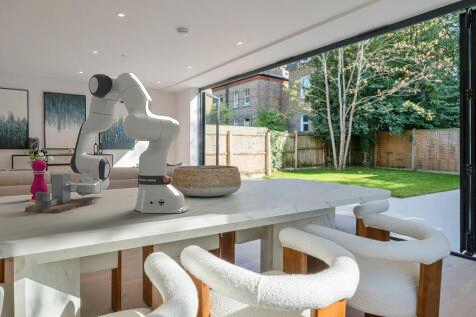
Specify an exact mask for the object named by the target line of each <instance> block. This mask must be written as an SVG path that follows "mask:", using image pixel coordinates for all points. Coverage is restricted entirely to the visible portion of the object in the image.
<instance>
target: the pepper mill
mask: <svg viewBox="0 0 476 317" xmlns="http://www.w3.org/2000/svg"><path fill="white" fill-rule="evenodd" d="M47 166H48V165H47V163H46V161H44V160H42V157H40V156H37V158H36V160H35V161H33V162H32V163H31V168H32V174H33V180H32V181H33V182H32V183H31V186H30V189H29V190H30V191H29V192H30V194H32V195H31V198H30V200H36V192H49V187H48V185H47V182H46V179H45V174H46V169H47Z"/></svg>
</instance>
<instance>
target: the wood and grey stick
mask: <svg viewBox="0 0 476 317" xmlns="http://www.w3.org/2000/svg"><path fill="white" fill-rule="evenodd" d="M28 203H36V200H31V199H29V200H28ZM50 206H52V199H50Z"/></svg>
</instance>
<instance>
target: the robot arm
mask: <svg viewBox="0 0 476 317" xmlns="http://www.w3.org/2000/svg"><path fill="white" fill-rule="evenodd" d="M88 88H89V89H88V90H89V92H90V94H91V95H92V96H91V99H90V105H89V110H88V116H87V119H86V120H85V121H84V122H82V123H81V125H80V126H79V131H78V133H77V134H78V135H77V138H76V142H75V146H74V150H73V153H72V155H71V157H70V162H69V167H70V168H71V171H72V172H74V173H75V174H80V175H83V176H80V177H77V178H76V179H75V181H72V182H71V193H76V194H78V195H79V196H82V197H83V196H87V195H88V196H89V195H93V194H94V195H95V194H98V195H99V194H102V192H103V191H104V190H106V189H107V188H108V186H109V185H110V178H109V176H110V172H111V165H110V162H109V160H108V159H107V158H106V157H104V156H98V155H92V154H88V153H87V149H88V146H89V142H90V139H91V137H92V136H93V135H95V134H98V133H103V132H106V131H108V130H109V129H111V128H112V126H113V124H114V120H115V105H116V104H117V103H119V102H120V104H123V105H124V107H125V108H126V110H127V112H128V113H127V114H128V115H127V116H126V117H125V119H124V121H123V125H122V127H123V128H122V129H123V132H124V134H125V136H126V137H127V138H129V139H131V140H133V141H138V142H148V145H147V148H146V149H145V151H142V153H140V155H139V157H138V175H137V197H136V202H135V206H134V210H135V211H137V212H140V213H142V214H146V213H147V214H180V213H185V212H187V211H189V210H191V207H190V204H186V202H185V196H184V193H182V192H181V191H180V190H179V189H178V188H177V187H175V186H173V184H172V183H171V182H172V178H173V177H172V176H170V175H168V174H167V167H168V166H167V162H168V155H169V151H170V149H171V146H172V144H173V142H174V141H175V140H177V138H178V137H179V135H180V133H181V127H180V122H178V120H177V119H174V118H173V117H170V116H167V115H158V114H154V113H152V112H151V110H152V109H153V105H154V104H153V103H154V102H153V99H152V98H151V96H150V95H149V92H148V91H147V90H146V88H145V86H144V84H143V82H141V81H140V79H139V78H138V77H137V76H136V75H135V74H134V73H132V72H126V71H125V72H123V73H120V74H118V76H117V75H110V74H104V73H96V74H93V75H92V76H91V77H90V79H89V81H88Z"/></svg>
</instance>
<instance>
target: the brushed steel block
mask: <svg viewBox="0 0 476 317" xmlns="http://www.w3.org/2000/svg"><path fill="white" fill-rule="evenodd" d="M71 193H72V192H71V173H64V172H63V173H52V174H51V200H52V206H53V205H57V204H64V203H68V202H71V199H72V198H71V197H72V196H71V195H72V194H71Z"/></svg>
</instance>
